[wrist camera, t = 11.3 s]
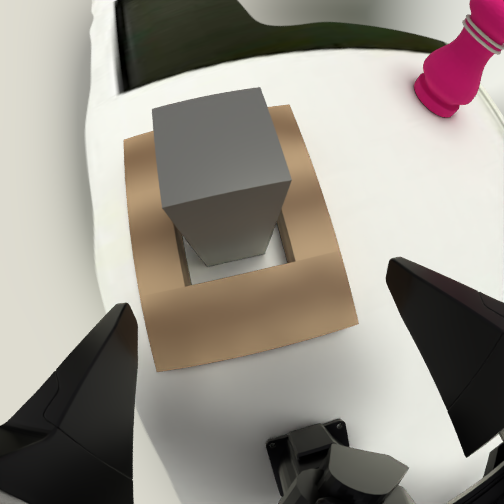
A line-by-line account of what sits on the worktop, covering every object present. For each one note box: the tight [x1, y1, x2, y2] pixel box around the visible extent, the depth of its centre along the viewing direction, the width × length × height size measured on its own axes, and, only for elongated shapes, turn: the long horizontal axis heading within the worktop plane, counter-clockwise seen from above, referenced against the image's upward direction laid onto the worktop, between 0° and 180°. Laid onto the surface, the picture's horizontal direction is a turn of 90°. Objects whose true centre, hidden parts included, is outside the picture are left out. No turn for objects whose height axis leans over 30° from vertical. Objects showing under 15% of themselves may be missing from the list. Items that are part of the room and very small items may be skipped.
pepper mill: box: [414, 0, 504, 117], centre depth 17 cm, size 7×7×20 cm
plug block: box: [152, 87, 292, 267], centre depth 16 cm, size 4×4×13 cm
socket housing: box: [124, 105, 359, 372], centre depth 21 cm, size 18×14×3 cm
